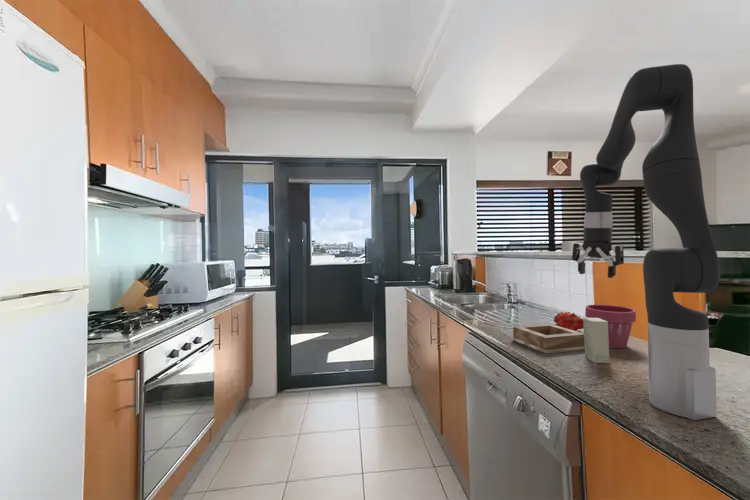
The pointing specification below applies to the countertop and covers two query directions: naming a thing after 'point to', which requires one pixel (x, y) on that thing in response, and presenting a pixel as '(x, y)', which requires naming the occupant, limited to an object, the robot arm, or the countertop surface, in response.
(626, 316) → the plant pot
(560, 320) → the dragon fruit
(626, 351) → the countertop surface
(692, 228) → the robot arm
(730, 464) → the countertop surface
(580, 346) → the socket block
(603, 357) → the skincare box
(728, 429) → the countertop surface
